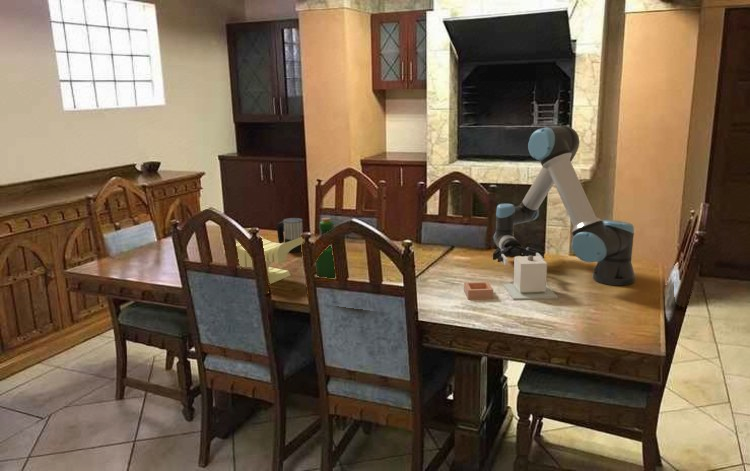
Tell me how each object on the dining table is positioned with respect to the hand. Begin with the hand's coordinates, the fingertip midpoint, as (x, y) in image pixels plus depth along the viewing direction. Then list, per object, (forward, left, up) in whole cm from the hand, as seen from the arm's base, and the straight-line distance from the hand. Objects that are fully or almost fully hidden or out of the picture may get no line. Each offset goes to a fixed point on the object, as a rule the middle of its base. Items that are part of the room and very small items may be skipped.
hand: (524, 261), depth 228 cm
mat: (-6, +5, -9) cm, 12 cm away
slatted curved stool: (+79, +66, -10) cm, 103 cm away
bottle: (+49, +56, -10) cm, 75 cm away
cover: (-6, +4, -9) cm, 11 cm away
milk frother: (+107, +37, -10) cm, 113 cm away
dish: (+5, +21, -9) cm, 23 cm away
